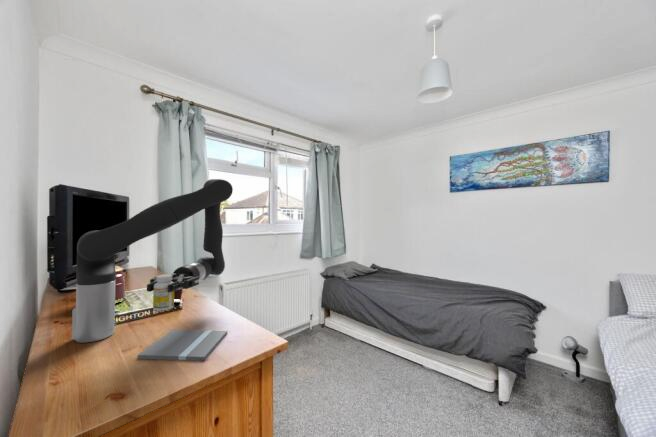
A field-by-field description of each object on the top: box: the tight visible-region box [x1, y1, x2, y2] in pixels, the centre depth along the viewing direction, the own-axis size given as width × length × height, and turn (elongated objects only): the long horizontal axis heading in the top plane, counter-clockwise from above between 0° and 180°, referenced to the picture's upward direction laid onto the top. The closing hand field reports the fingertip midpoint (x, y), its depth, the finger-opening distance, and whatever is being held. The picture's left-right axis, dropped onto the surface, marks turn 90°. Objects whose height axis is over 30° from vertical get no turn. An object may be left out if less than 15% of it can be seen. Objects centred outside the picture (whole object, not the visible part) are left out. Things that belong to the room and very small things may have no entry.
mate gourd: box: [174, 289, 183, 301], centre depth 115 cm, size 8×8×15 cm
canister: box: [115, 265, 127, 300], centre depth 113 cm, size 13×13×18 cm
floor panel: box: [137, 329, 228, 362], centre depth 79 cm, size 18×16×1 cm
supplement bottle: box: [152, 273, 175, 312], centre depth 78 cm, size 5×5×10 cm
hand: (158, 288), depth 76 cm, fingers closed on supplement bottle, 5 cm apart
